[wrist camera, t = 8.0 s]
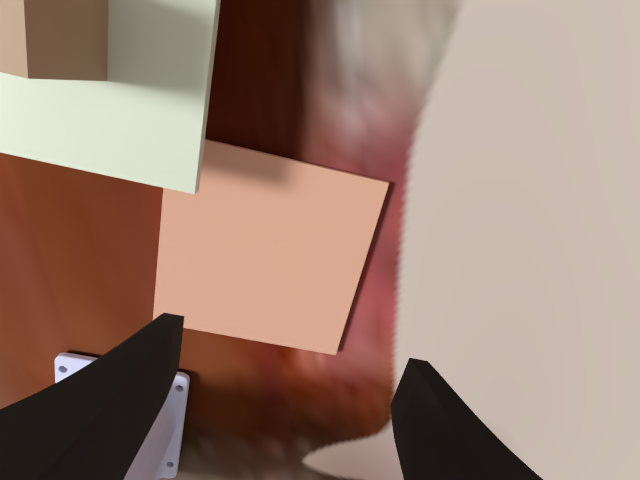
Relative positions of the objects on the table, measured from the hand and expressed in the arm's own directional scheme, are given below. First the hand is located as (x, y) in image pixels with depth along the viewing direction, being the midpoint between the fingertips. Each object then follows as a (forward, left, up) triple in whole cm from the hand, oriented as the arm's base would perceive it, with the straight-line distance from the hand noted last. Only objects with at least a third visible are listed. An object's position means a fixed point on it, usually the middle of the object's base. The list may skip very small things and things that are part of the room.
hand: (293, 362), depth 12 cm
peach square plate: (-1, +2, -9) cm, 10 cm away
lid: (+8, +10, -6) cm, 14 cm away
